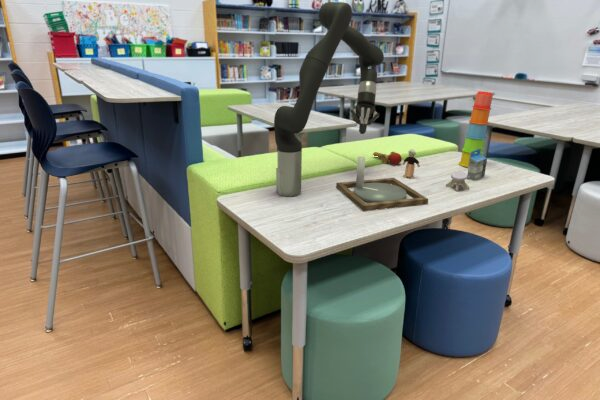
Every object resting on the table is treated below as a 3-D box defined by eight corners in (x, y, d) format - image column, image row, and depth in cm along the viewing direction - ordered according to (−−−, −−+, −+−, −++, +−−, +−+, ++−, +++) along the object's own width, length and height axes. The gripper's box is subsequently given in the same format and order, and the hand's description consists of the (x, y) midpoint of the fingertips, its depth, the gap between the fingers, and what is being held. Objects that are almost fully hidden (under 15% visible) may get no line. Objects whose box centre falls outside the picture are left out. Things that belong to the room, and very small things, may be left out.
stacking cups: (462, 161, 212) (473, 89, 200) (483, 164, 207) (496, 91, 194) (455, 166, 204) (466, 92, 192) (477, 169, 199) (490, 93, 186)
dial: (367, 206, 154) (369, 170, 149) (345, 188, 172) (347, 155, 167) (416, 201, 159) (420, 166, 154) (390, 184, 177) (393, 152, 172)
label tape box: (474, 181, 183) (479, 153, 179) (465, 178, 186) (470, 151, 182) (484, 177, 189) (489, 149, 184) (475, 174, 192) (480, 148, 187)
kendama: (368, 161, 216) (392, 165, 200) (369, 148, 215) (394, 151, 200) (379, 162, 220) (404, 166, 204) (381, 149, 219) (406, 153, 203)
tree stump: (450, 182, 181) (452, 169, 179) (472, 187, 176) (474, 173, 174) (442, 188, 174) (444, 175, 172) (465, 193, 169) (467, 179, 167)
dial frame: (363, 211, 150) (363, 205, 150) (336, 187, 174) (336, 182, 173) (427, 204, 158) (428, 198, 157) (393, 182, 181) (393, 177, 180)
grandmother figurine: (399, 177, 187) (402, 149, 182) (401, 175, 190) (404, 147, 185) (417, 179, 184) (421, 151, 179) (419, 177, 187) (422, 149, 183)
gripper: (352, 88, 177) (347, 128, 175) (384, 92, 177) (379, 133, 175) (350, 95, 185) (345, 134, 182) (380, 99, 185) (376, 138, 182)
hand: (362, 133), depth 179 cm, fingers closed
